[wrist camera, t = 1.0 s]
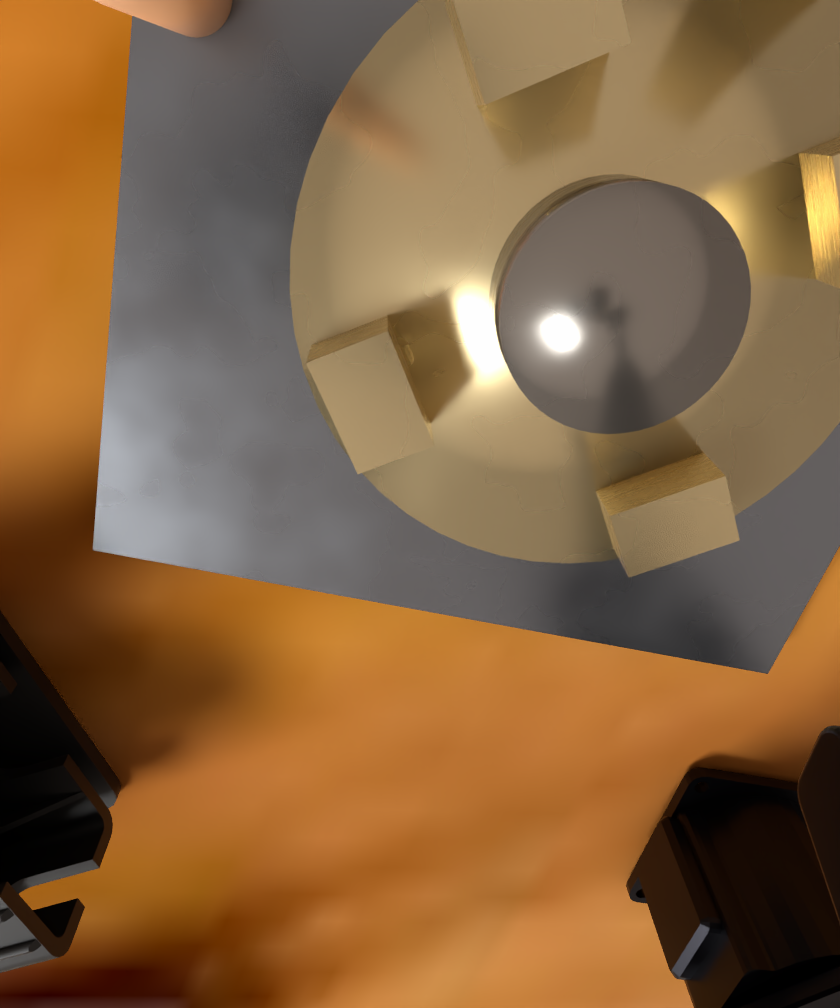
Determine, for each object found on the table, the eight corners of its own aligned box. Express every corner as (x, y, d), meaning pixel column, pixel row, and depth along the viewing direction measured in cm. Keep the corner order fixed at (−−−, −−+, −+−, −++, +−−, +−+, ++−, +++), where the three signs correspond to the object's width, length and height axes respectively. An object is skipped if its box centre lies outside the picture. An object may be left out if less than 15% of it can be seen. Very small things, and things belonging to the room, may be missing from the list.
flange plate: (1167, -109, 16) (1213, -122, 15) (753, 653, 25) (768, 673, 24) (186, -484, 13) (172, -526, 12) (104, 531, 22) (92, 550, 21)
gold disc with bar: (652, 564, 21) (717, 671, 17) (232, 400, 19) (190, 481, 15) (1169, -212, 14) (1487, -342, 10) (607, -653, 12) (732, -1071, 8)
